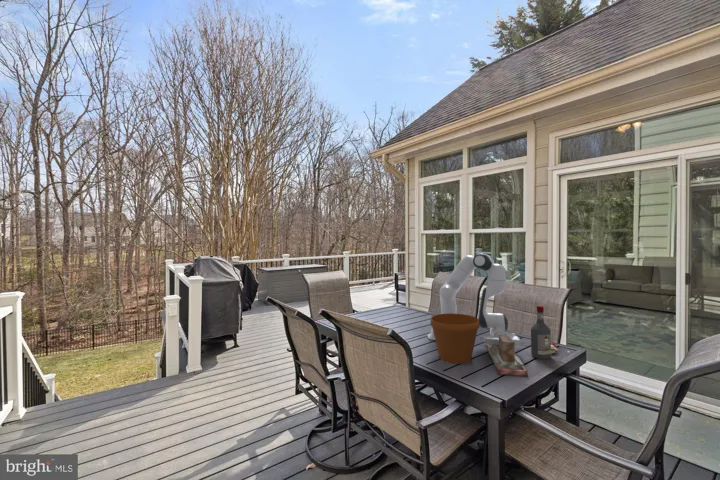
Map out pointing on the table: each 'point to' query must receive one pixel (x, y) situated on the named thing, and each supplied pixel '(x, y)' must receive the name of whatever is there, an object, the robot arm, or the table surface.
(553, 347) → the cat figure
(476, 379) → the table surface
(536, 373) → the table surface
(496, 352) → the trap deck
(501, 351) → the walnut block
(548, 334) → the liquor
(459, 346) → the flowerpot
